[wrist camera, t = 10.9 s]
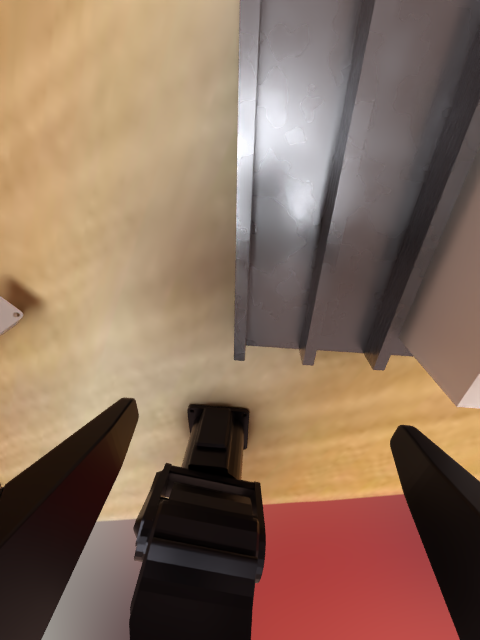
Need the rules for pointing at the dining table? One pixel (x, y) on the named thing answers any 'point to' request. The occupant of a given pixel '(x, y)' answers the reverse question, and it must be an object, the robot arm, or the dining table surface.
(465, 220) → the panel
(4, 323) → the bracket
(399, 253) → the rack
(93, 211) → the dining table surface
